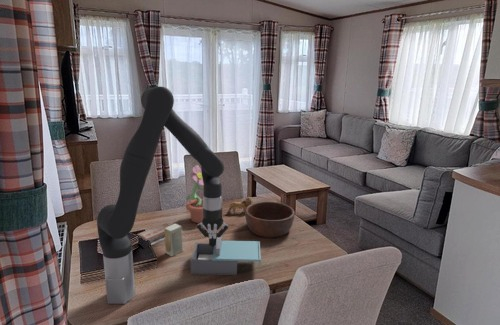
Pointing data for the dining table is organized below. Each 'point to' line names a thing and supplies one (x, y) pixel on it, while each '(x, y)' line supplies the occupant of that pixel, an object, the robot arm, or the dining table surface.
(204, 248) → the mailer box
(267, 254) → the dining table surface
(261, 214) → the wooden bowl
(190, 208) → the decorative flower
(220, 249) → the lid
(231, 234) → the dining table surface
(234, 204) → the lion figurine
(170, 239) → the skincare box
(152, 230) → the packaged product
